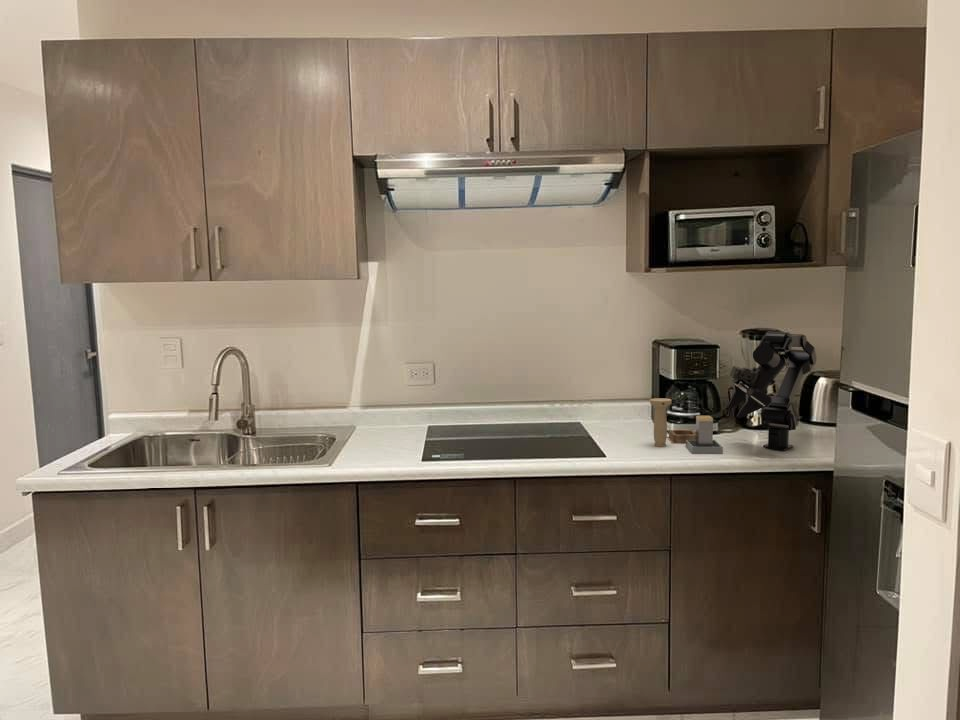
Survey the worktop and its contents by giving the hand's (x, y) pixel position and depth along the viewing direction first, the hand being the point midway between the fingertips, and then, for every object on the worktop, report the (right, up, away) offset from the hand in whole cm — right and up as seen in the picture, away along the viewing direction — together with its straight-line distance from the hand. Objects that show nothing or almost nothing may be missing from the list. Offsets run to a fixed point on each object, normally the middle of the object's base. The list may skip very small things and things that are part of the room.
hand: (733, 412), depth 200 cm
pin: (-8, -11, +2) cm, 14 cm away
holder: (-11, -10, +14) cm, 20 cm away
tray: (-8, -12, +2) cm, 14 cm away
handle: (-20, -12, +8) cm, 24 cm away
